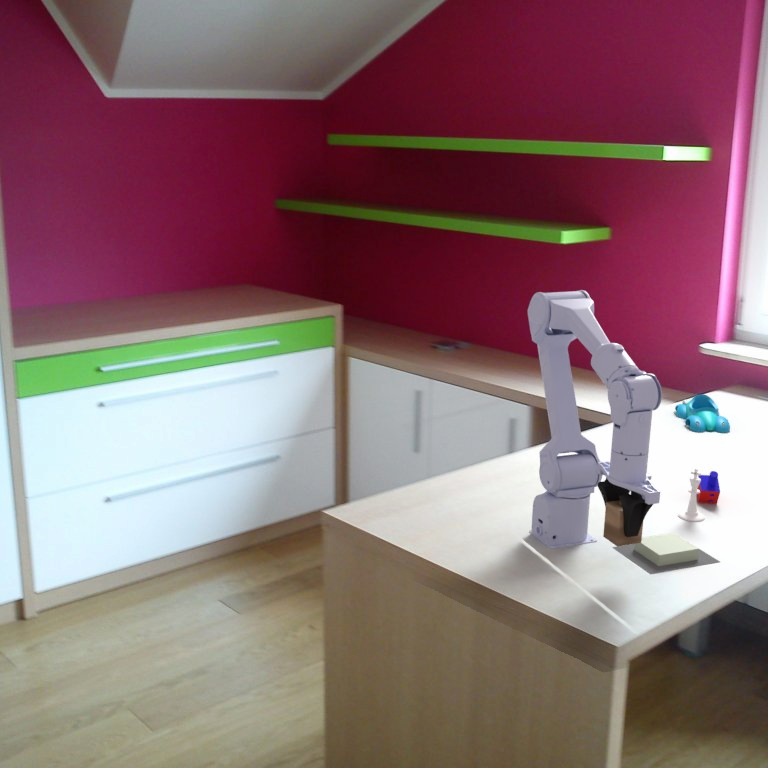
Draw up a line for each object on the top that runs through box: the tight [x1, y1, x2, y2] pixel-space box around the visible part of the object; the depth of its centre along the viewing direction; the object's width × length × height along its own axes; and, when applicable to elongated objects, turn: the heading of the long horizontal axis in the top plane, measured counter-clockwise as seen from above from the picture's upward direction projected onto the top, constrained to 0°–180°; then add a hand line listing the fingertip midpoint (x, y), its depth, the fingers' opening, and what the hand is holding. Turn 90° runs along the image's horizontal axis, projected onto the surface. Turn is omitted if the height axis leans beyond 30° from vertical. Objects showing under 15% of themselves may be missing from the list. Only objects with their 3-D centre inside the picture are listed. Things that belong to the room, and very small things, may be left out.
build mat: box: [612, 544, 721, 575], centre depth 169 cm, size 14×11×1 cm
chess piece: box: [677, 468, 706, 523], centre depth 184 cm, size 5×5×10 cm
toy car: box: [673, 393, 731, 434], centre depth 246 cm, size 11×18×7 cm, turn 177°
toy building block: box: [696, 470, 721, 505], centre depth 194 cm, size 4×4×8 cm
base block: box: [634, 532, 700, 566], centre depth 169 cm, size 8×7×2 cm
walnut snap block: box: [603, 500, 644, 547], centre depth 158 cm, size 4×4×6 cm
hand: (623, 530), depth 159 cm, fingers closed on walnut snap block, 4 cm apart
